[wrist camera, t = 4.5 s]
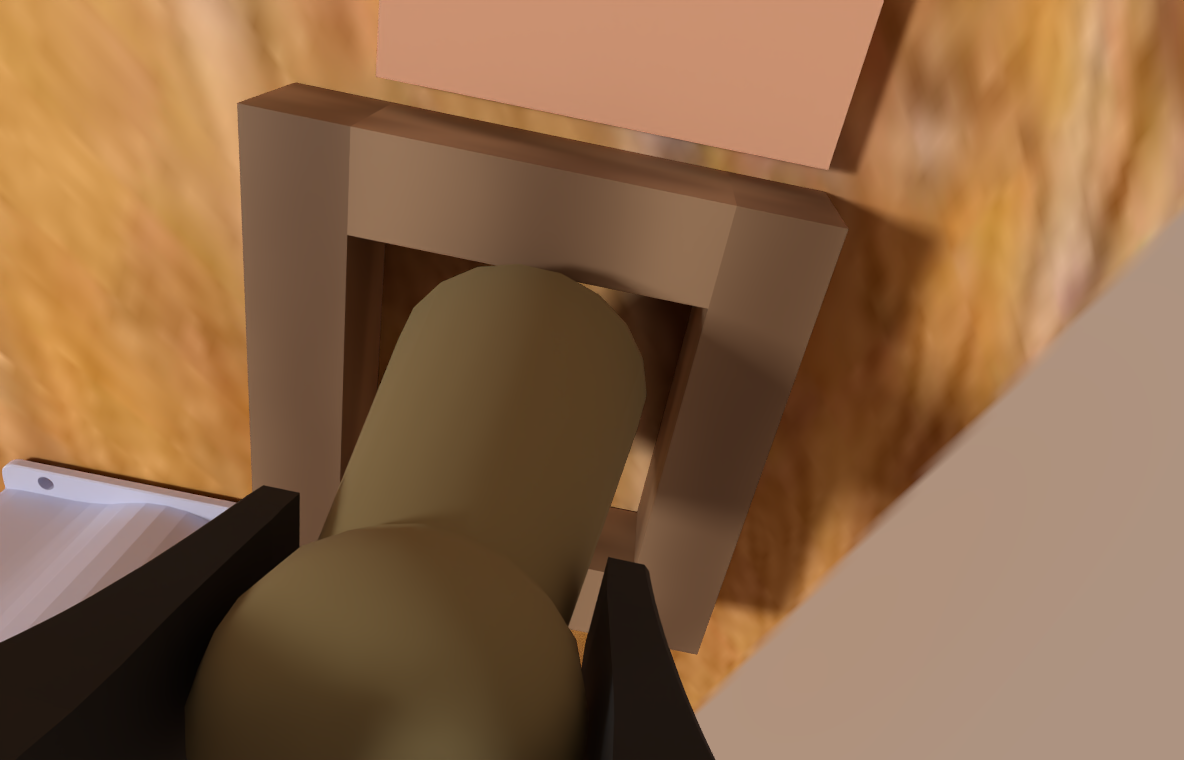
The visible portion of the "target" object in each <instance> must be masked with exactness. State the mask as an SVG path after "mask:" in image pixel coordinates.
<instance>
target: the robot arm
mask: <svg viewBox="0 0 1184 760" xmlns="http://www.w3.org/2000/svg"><path fill="white" fill-rule="evenodd" d="M2 475H3V479H4V484H5V488H6V489H4V490H3V491H2V492H1V493H0V760H187V759H186V747H185V709H184V707H185V704H186V701H187V698H188V695H189V693H190V690H191V687H192V684H193V681H194V678H195V675H196V672H197V669H198V667H199V665H200V662H201V660H202V658H203V656H204V654H205V651H206V649H207V647H208V645H209V642H210V640H211V638H212V636H213V633H214V631H215V630H216V628H217V627H218V626H219V624H220V623H221V621H222V620H223V619H224V617H225V616H226V614H227V613H228V612H229V610H230V609H231V607H232V606H233V604H234V603H235V602H236V600H237V599H238V598H239V597H240V596H241V595H242V594H243V593H245V592H246V591H247V590H248V589H249V588H251V587H252V586H253V585H254V584H255V583H257V582H258V581H259V580H260V579H261V578H263V577H264V576H265V575H266V574H268V573H269V572H270V571H271V570H272V569H274V568H275V567H276V566H277V565H279V564H280V563H281V562H282V561H284V560H285V559H286V558H287V557H288V556H290V555H291V554H292V553H293V552H295V551H296V550H297V549H298V548H299V547H300V493H299V492H294V491H289V490H284V489H280V488H275V487H270V486H265V485H263V486H261V487H260V488H258V489H256V490H255V491H253V492H252V493H250V494H249V495H247V496H246V497H244V498H243V499H241V500H240V501H239V502H237V503H236V502H231V501H226V500H221V499H216V498H211V497H206V496H201V495H196V494H191V493H186V492H181V491H176V490H171V489H166V488H161V487H156V486H151V485H146V484H141V483H136V482H131V481H126V480H121V479H116V478H111V477H106V476H101V475H96V474H91V473H86V472H81V471H76V470H71V469H66V468H61V467H56V466H51V465H46V464H41V463H36V462H31V461H26V460H21V459H15V460H12V461H10V462H9V463H8V464H7V465H5V466H4V468H3V469H2ZM49 479H50V480H51V481H50V480H49ZM581 670H582V675H583V681H584V687H585V693H586V699H587V705H588V711H589V722H588V731H587V741H586V751H585V756H584V759H583V760H715V758H714V756H713V754H712V752H711V750H710V748H709V746H708V744H707V741H706V739H705V737H704V735H703V733H702V731H701V728H700V726H699V724H698V721H697V719H696V717H695V714H694V712H693V710H692V707H691V705H690V703H689V700H688V698H687V695H686V693H685V690H684V688H683V685H682V682H681V680H680V677H679V674H678V671H677V669H676V666H675V663H674V660H673V657H672V655H671V652H670V649H669V646H668V643H667V640H666V637H665V634H664V630H663V627H662V623H661V620H660V616H659V613H658V609H657V605H656V602H655V597H654V593H653V589H652V584H651V579H650V573H649V570H648V569H647V567H646V566H645V565H644V564H639V563H635V562H630V561H625V560H620V559H615V558H611V557H608V559H607V563H606V567H605V571H604V575H603V578H602V582H601V586H600V590H599V594H598V597H597V601H596V605H595V609H594V613H593V616H592V620H591V624H590V628H589V632H588V635H587V639H586V643H585V649H584V655H583V662H582V668H581Z"/></svg>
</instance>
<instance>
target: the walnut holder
mask: <svg viewBox="0 0 1184 760" xmlns="http://www.w3.org/2000/svg"><path fill="white" fill-rule="evenodd" d="M237 108H238V133H239V159H240V184H241V210H242V235H243V261H244V286H245V312H246V337H247V363H248V389H249V414H250V440H251V465H252V491H255V490H256V489H258V488H260V487H261V486H263V485H265V486H270V487H275V488H280V489H284V490H289V491H294V492H299V493H300V547H301V546H302V545H305V544H308V543H311V542H314V541H317V540H318V538H319V535H320V533H321V530H322V528H323V525H324V523H325V521H326V518H327V516H328V513H329V511H330V508H331V506H332V503H333V501H334V498H335V496H336V493H337V491H338V488H339V486H340V483H341V481H342V478H343V476H344V473H345V471H346V468H347V466H348V463H349V461H350V458H351V456H352V453H353V451H354V448H355V446H356V443H357V441H358V438H359V436H360V433H361V431H362V428H363V426H364V423H365V421H366V418H367V416H368V413H369V411H370V408H371V406H372V403H373V401H374V398H375V396H376V393H377V387H378V369H379V350H380V332H381V314H382V295H383V277H384V259H385V243H389V244H394V245H399V246H404V247H409V248H414V249H418V250H423V251H428V252H433V253H438V254H443V255H448V256H453V257H458V258H462V259H467V260H472V261H477V262H482V263H487V264H492V265H510V264H522V265H527V266H531V267H535V268H540V269H544V270H549V271H553V272H558V273H561V274H563V275H565V276H567V277H569V278H570V279H572V280H574V281H576V282H580V283H585V284H590V285H594V286H599V287H604V288H609V289H614V290H619V291H624V292H629V293H634V294H638V295H643V296H648V297H653V298H658V299H663V300H668V301H673V302H678V303H683V304H687V305H692V309H691V313H690V317H689V321H688V324H687V328H686V332H685V336H684V339H683V343H682V347H681V351H680V354H679V358H678V362H677V366H676V369H675V373H674V377H673V380H672V384H671V388H670V392H669V395H668V399H667V403H666V407H665V410H664V414H663V418H662V422H661V425H660V429H659V433H658V437H657V440H656V444H655V448H654V452H653V455H652V459H651V463H650V466H649V470H648V474H647V478H646V481H645V485H644V489H643V493H642V496H641V500H640V504H639V508H638V511H637V512H632V511H627V510H622V509H617V508H612V507H610V509H609V512H608V515H607V517H606V520H605V523H604V526H603V529H602V532H601V535H600V537H599V540H598V543H597V546H596V549H595V552H594V555H593V558H592V560H591V563H590V566H589V569H588V572H587V575H586V578H585V581H584V583H583V586H582V589H581V592H580V595H579V598H578V601H577V603H576V606H575V609H574V612H573V615H572V618H571V621H570V624H569V626H568V627H569V629H572V630H577V631H582V632H587V633H588V632H589V628H590V624H591V620H592V616H593V613H594V609H595V605H596V601H597V597H598V594H599V590H600V586H601V582H602V578H603V575H604V571H605V567H606V563H607V559H608V557H611V558H615V559H620V560H625V561H630V562H635V563H639V564H644V565H645V566H646V567H647V569H648V570H649V573H650V579H651V584H652V589H653V593H654V597H655V602H656V605H657V609H658V613H659V616H660V620H661V623H662V627H663V630H664V634H665V637H666V640H667V643H668V646H669V649H672V650H677V651H682V652H687V653H692V654H698V651H699V648H700V645H701V642H702V639H703V637H704V634H705V631H706V628H707V625H708V623H709V620H710V617H711V614H712V611H713V609H714V606H715V603H716V600H717V597H718V594H719V592H720V589H721V586H722V583H723V580H724V578H725V575H726V572H727V569H728V566H729V564H730V561H731V558H732V555H733V552H734V549H735V547H736V544H737V541H738V538H739V535H740V533H741V530H742V527H743V524H744V521H745V519H746V516H747V513H748V510H749V507H750V504H751V502H752V499H753V496H754V493H755V490H756V488H757V485H758V482H759V479H760V476H761V474H762V471H763V468H764V465H765V462H766V460H767V457H768V454H769V451H770V448H771V445H772V443H773V440H774V437H775V434H776V431H777V429H778V426H779V423H780V420H781V417H782V415H783V412H784V409H785V406H786V403H787V400H788V398H789V395H790V392H791V389H792V386H793V384H794V381H795V378H796V375H797V372H798V370H799V367H800V364H801V361H802V358H803V355H804V353H805V350H806V347H807V344H808V341H809V339H810V336H811V333H812V330H813V327H814V325H815V322H816V319H817V316H818V313H819V310H820V308H821V305H822V302H823V299H824V296H825V294H826V291H827V288H828V285H829V282H830V280H831V277H832V274H833V271H834V268H835V266H836V263H837V260H838V257H839V254H840V251H841V249H842V246H843V243H844V240H845V237H846V235H847V232H848V227H847V226H846V224H845V223H844V221H843V219H842V218H841V216H840V215H839V213H838V212H837V210H836V208H835V207H834V205H833V204H832V202H831V200H830V199H829V197H828V196H827V194H826V193H825V192H823V191H818V190H813V189H808V188H803V187H798V186H794V185H789V184H784V183H779V182H774V181H769V180H765V179H760V178H755V177H750V176H745V175H740V174H735V173H731V172H726V171H721V170H716V169H711V168H706V167H702V166H697V165H692V164H687V163H682V162H677V161H672V160H668V159H663V158H658V157H653V156H648V155H643V154H639V153H634V152H629V151H624V150H619V149H614V148H609V147H605V146H600V145H595V144H590V143H585V142H580V141H576V140H571V139H566V138H561V137H556V136H551V135H547V134H542V133H537V132H532V131H527V130H522V129H517V128H513V127H508V126H503V125H498V124H493V123H488V122H484V121H479V120H474V119H469V118H464V117H459V116H454V115H450V114H445V113H440V112H435V111H430V110H425V109H421V108H416V107H411V106H406V105H401V104H396V103H391V102H387V101H382V100H377V99H372V98H367V97H362V96H358V95H353V94H348V93H343V92H338V91H333V90H328V89H324V88H319V87H314V86H309V85H304V84H299V83H292V84H290V85H287V86H284V87H281V88H278V89H276V90H273V91H270V92H267V93H264V94H262V95H259V96H256V97H253V98H250V99H247V100H245V101H242V102H239V103H237Z"/></svg>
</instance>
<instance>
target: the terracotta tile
mask: <svg viewBox="0 0 1184 760" xmlns="http://www.w3.org/2000/svg"><path fill="white" fill-rule="evenodd" d="M883 2H884V0H379V19H378V42H377V65H376V77H380V78H385V79H390V80H395V81H399V82H404V83H409V84H414V85H419V86H424V87H429V88H433V89H438V90H443V91H448V92H453V93H458V94H462V95H467V96H472V97H477V98H482V99H487V100H491V101H496V102H501V103H506V104H511V105H516V106H520V107H525V108H530V109H535V110H540V111H545V112H549V113H554V114H559V115H564V116H569V117H574V118H578V119H583V120H588V121H593V122H598V123H603V124H608V125H612V126H617V127H622V128H627V129H632V130H637V131H641V132H646V133H651V134H656V135H661V136H666V137H670V138H675V139H680V140H685V141H690V142H695V143H699V144H704V145H709V146H714V147H719V148H724V149H728V150H733V151H738V152H743V153H748V154H753V155H758V156H762V157H767V158H772V159H777V160H782V161H787V162H791V163H796V164H801V165H806V166H811V167H816V168H820V169H825V170H828V169H829V166H830V163H831V160H832V157H833V154H834V151H835V147H836V144H837V141H838V138H839V135H840V132H841V129H842V126H843V123H844V120H845V117H846V114H847V111H848V108H849V105H850V102H851V99H852V96H853V93H854V90H855V87H856V84H857V81H858V78H859V75H860V72H861V69H862V66H863V63H864V60H865V56H866V53H867V50H868V47H869V44H870V41H871V38H872V35H873V32H874V29H875V26H876V23H877V20H878V17H879V14H880V11H881V8H882V5H883Z"/></svg>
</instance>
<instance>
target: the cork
mask: <svg viewBox="0 0 1184 760" xmlns="http://www.w3.org/2000/svg"><path fill="white" fill-rule="evenodd" d="M646 395H647V393H646V383H645V372H644V362H643V358H642V355H641V353H640V351H639V349H638V347H637V345H636V343H635V341H634V338H633V336H632V334H631V332H630V330H629V328H628V326H627V324H626V323H625V322H624V321H623V320H622V319H621V318H620V317H619V315H618V314H617V313H616V312H615V311H614V310H613V309H612V308H611V307H610V306H609V305H608V304H607V303H606V302H605V301H604V300H603V299H602V298H601V296H600V295H599V294H597V293H595V292H593V291H592V290H590V289H588V288H586V287H585V286H583V285H581V284H579V283H577V282H576V281H574V280H572V279H570V278H569V277H567V276H565V275H563V274H561V273H558V272H553V271H549V270H544V269H540V268H535V267H531V266H527V265H522V264H510V265H497V266H484V267H476V268H474V269H471V270H469V271H467V272H464V273H462V274H459V275H457V276H455V277H452V278H450V279H448V280H445V281H443V282H441V283H440V284H439V285H437V286H436V287H435V288H434V289H433V290H432V291H431V292H430V293H429V294H428V295H427V296H426V297H424V298H423V299H422V300H421V301H420V302H419V303H418V304H417V305H416V306H415V307H414V308H413V310H412V312H411V314H410V316H409V318H408V320H407V322H406V324H405V326H404V328H403V330H402V333H401V335H400V337H399V339H398V341H397V344H396V346H395V349H394V351H393V354H392V356H391V359H390V361H389V364H388V366H387V369H386V371H385V373H384V376H383V378H382V381H381V383H380V386H379V388H378V391H377V393H376V396H375V398H374V401H373V403H372V406H371V408H370V411H369V413H368V416H367V418H366V421H365V423H364V426H363V428H362V431H361V433H360V436H359V438H358V441H357V443H356V446H355V448H354V451H353V453H352V456H351V458H350V461H349V463H348V466H347V468H346V471H345V473H344V476H343V478H342V481H341V483H340V486H339V488H338V491H337V493H336V496H335V498H334V501H333V503H332V506H331V508H330V511H329V513H328V516H327V518H326V521H325V523H324V525H323V528H322V530H321V533H320V535H319V538H318V540H317V541H314V542H311V543H308V544H305V545H302V546H301V547H299V548H298V549H297V550H296V551H295V552H293V553H292V554H291V555H290V556H288V557H287V558H286V559H285V560H284V561H282V562H281V563H280V564H279V565H277V566H276V567H275V568H274V569H272V570H271V571H270V572H269V573H268V574H266V575H265V576H264V577H263V578H261V579H260V580H259V581H258V582H257V583H255V584H254V585H253V586H252V587H251V588H249V589H248V590H247V591H246V592H245V593H243V594H242V595H241V596H240V597H239V598H238V599H237V600H236V602H235V603H234V604H233V606H232V607H231V609H230V610H229V612H228V613H227V614H226V616H225V617H224V619H223V620H222V621H221V623H220V624H219V626H218V627H217V628H216V630H215V631H214V633H213V636H212V638H211V640H210V642H209V645H208V647H207V649H206V651H205V654H204V656H203V658H202V660H201V662H200V665H199V667H198V669H197V672H196V675H195V678H194V681H193V684H192V687H191V690H190V693H189V695H188V698H187V701H186V704H185V707H184V709H185V747H186V759H187V760H583V759H584V756H585V751H586V741H587V731H588V722H589V711H588V705H587V699H586V693H585V687H584V681H583V675H582V670H581V664H580V658H579V652H578V647H577V641H576V639H575V637H574V635H573V634H572V632H571V631H570V629H569V627H568V626H569V624H570V621H571V618H572V615H573V612H574V609H575V606H576V603H577V601H578V598H579V595H580V592H581V589H582V586H583V583H584V581H585V578H586V575H587V572H588V569H589V566H590V563H591V560H592V558H593V555H594V552H595V549H596V546H597V543H598V540H599V537H600V535H601V532H602V529H603V526H604V523H605V520H606V517H607V515H608V512H609V509H610V506H611V503H612V500H613V497H614V494H615V492H616V489H617V486H618V483H619V480H620V477H621V474H622V471H623V469H624V466H625V463H626V460H627V457H628V454H629V451H630V449H631V446H632V443H633V440H634V437H635V434H636V431H637V428H638V425H639V421H640V418H641V414H642V410H643V406H644V403H645V399H646Z"/></svg>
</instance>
